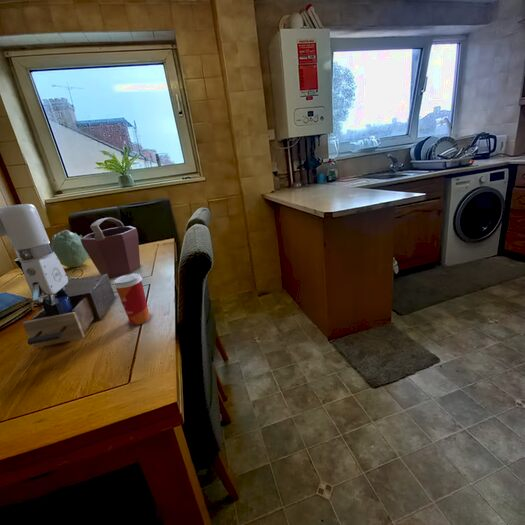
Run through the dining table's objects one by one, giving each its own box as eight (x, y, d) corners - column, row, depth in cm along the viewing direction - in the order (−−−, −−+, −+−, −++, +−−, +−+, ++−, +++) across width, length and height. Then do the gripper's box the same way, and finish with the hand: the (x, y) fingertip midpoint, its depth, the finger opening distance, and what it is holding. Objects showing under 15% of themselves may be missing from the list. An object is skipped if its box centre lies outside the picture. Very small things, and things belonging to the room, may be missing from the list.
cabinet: (100, 319, 88) (90, 292, 84) (53, 329, 85) (41, 301, 82) (115, 297, 103) (107, 273, 100) (76, 304, 101) (66, 280, 98)
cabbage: (95, 258, 159) (83, 224, 152) (92, 267, 142) (78, 229, 135) (63, 265, 153) (49, 230, 146) (56, 275, 136) (40, 236, 129)
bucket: (122, 280, 118) (104, 223, 110) (80, 281, 124) (59, 227, 115) (154, 260, 141) (141, 211, 132) (117, 262, 146) (102, 214, 137)
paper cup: (127, 317, 87) (114, 276, 82) (153, 310, 89) (141, 270, 84) (125, 330, 80) (110, 286, 75) (153, 322, 82) (140, 279, 77)
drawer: (75, 348, 72) (65, 323, 69) (23, 360, 70) (9, 334, 68) (102, 311, 91) (94, 289, 88) (61, 319, 89) (51, 297, 87)
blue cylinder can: (45, 320, 76) (39, 307, 75) (55, 310, 81) (50, 298, 80) (67, 315, 77) (62, 303, 76) (76, 306, 82) (71, 294, 81)
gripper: (32, 259, 66) (61, 325, 72) (65, 241, 81) (86, 296, 88) (-3, 265, 64) (29, 331, 71) (37, 246, 80) (60, 301, 87)
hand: (60, 311), depth 79 cm, fingers closed on blue cylinder can, 5 cm apart
